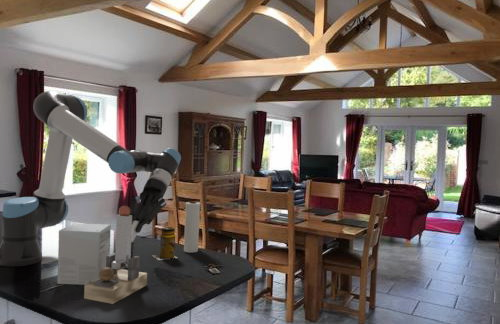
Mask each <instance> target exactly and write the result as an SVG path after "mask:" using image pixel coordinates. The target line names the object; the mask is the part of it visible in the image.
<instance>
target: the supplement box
mask: <svg viewBox="0 0 500 324" xmlns="http://www.w3.org/2000/svg"><path fill="white" fill-rule="evenodd" d="M111 228H112V227H111V224H104V223H103V224H102V223H76V222H74V223H71V224H70V225H67V226H65V227H64V228H61V229H59V230H58V250H57V251H58V257H57V284H58V285H82V286H85V285H86V284H88V283H91V282H93V281H95V280H97V279H100V271H101V270H102V269H103V268H105V267H106V256H108V255H110V254H111Z"/></svg>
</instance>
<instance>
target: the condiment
mask: <svg viewBox="0 0 500 324" xmlns="http://www.w3.org/2000/svg"><path fill="white" fill-rule="evenodd" d="M175 229H176V228H175V227H170V226H165V227H162V228H161V234H160V239H159V241H160V242H159V254H152V255H151V256H152V257H153V258H154V259H155V258H156V260H157V261H164V260H171V259H170V258H173V259H174V258H175V259H178V256H175V253H176V252H175V251H176V234H175V231H176V230H175ZM160 258H163V259H160ZM173 259H172V260H173Z"/></svg>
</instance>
